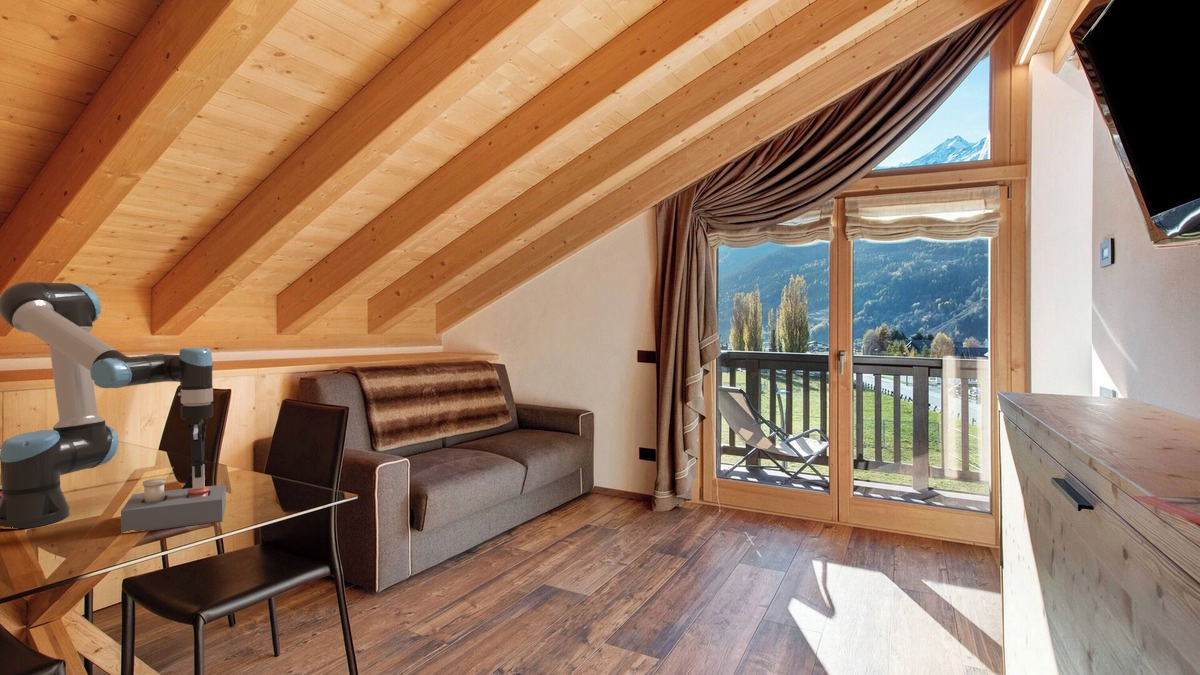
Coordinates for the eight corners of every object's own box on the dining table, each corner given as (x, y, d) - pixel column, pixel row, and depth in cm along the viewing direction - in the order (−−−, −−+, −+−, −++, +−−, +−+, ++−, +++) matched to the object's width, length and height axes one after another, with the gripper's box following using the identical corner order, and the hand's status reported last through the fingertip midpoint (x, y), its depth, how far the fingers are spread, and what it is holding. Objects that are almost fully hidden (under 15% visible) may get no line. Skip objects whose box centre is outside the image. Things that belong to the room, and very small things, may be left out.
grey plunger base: (133, 515, 172) (132, 494, 171) (225, 504, 182) (225, 484, 182) (121, 534, 158) (120, 511, 157) (222, 521, 168) (222, 499, 168)
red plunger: (189, 511, 173) (188, 487, 173) (210, 509, 176) (209, 485, 175) (187, 517, 169) (186, 492, 169) (208, 514, 171) (208, 490, 171)
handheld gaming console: (152, 496, 184) (175, 466, 189) (170, 505, 190) (192, 475, 195) (179, 506, 180) (202, 475, 185) (197, 515, 186) (218, 484, 191)
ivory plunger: (145, 504, 168) (144, 479, 168) (167, 502, 171) (166, 477, 170) (141, 509, 164) (141, 484, 164) (164, 507, 166) (164, 482, 166)
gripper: (183, 401, 175) (185, 484, 176) (177, 408, 163) (179, 496, 164) (214, 399, 178) (216, 480, 179) (211, 406, 167) (212, 492, 168)
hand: (198, 488), depth 172 cm, fingers closed
